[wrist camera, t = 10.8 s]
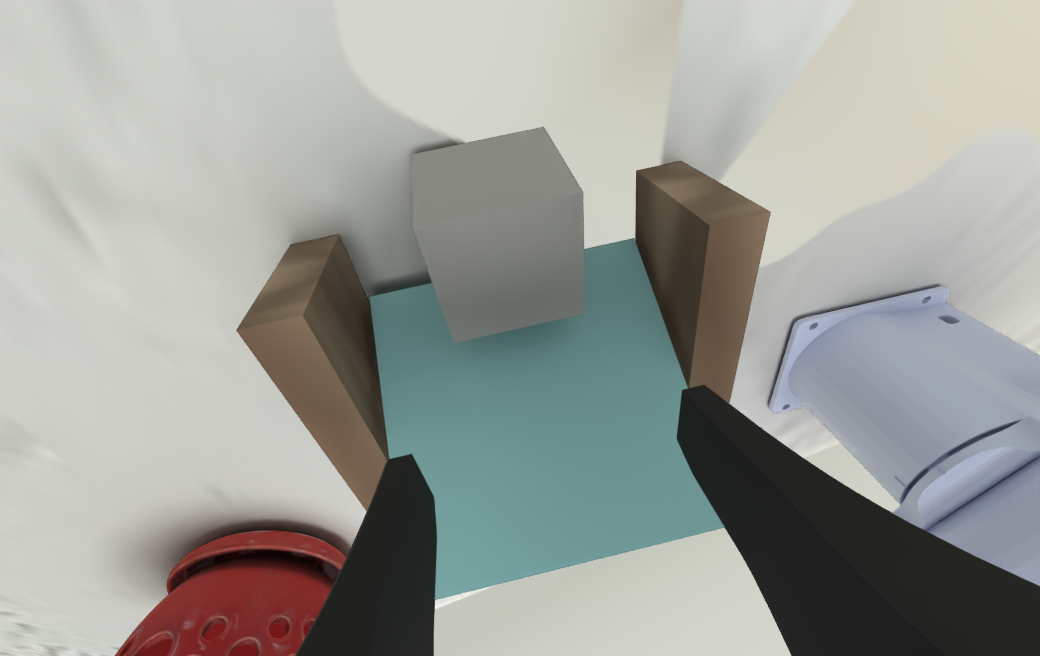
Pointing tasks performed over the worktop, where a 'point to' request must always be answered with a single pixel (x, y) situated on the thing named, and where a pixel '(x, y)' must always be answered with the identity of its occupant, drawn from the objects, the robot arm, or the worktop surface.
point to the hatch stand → (350, 335)
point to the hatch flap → (542, 428)
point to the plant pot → (240, 597)
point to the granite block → (500, 232)
